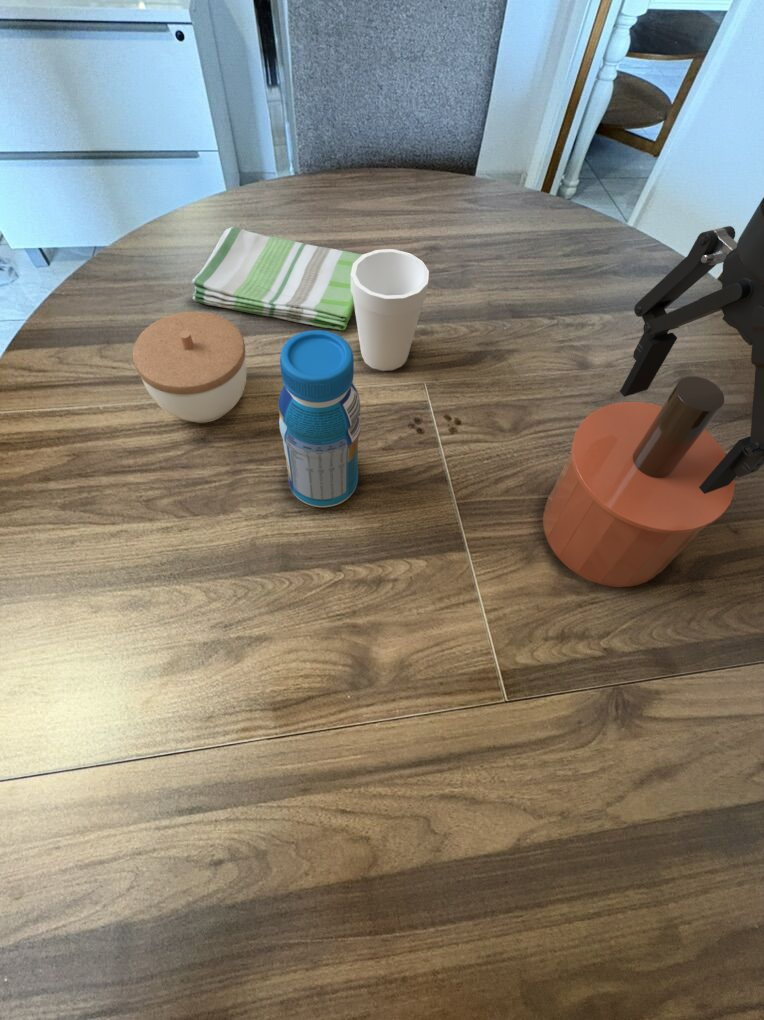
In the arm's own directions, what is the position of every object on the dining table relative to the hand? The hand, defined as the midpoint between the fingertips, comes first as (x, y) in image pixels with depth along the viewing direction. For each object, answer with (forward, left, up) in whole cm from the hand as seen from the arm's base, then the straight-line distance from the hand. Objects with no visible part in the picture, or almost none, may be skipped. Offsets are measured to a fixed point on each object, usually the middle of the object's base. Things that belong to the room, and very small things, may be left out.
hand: (671, 436), depth 56 cm
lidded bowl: (+38, -35, -17) cm, 54 cm away
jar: (0, 0, -17) cm, 17 cm away
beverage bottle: (+28, -18, -17) cm, 37 cm away
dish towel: (+21, -54, -17) cm, 60 cm away
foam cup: (+13, -35, -17) cm, 41 cm away
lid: (0, 0, -4) cm, 4 cm away
